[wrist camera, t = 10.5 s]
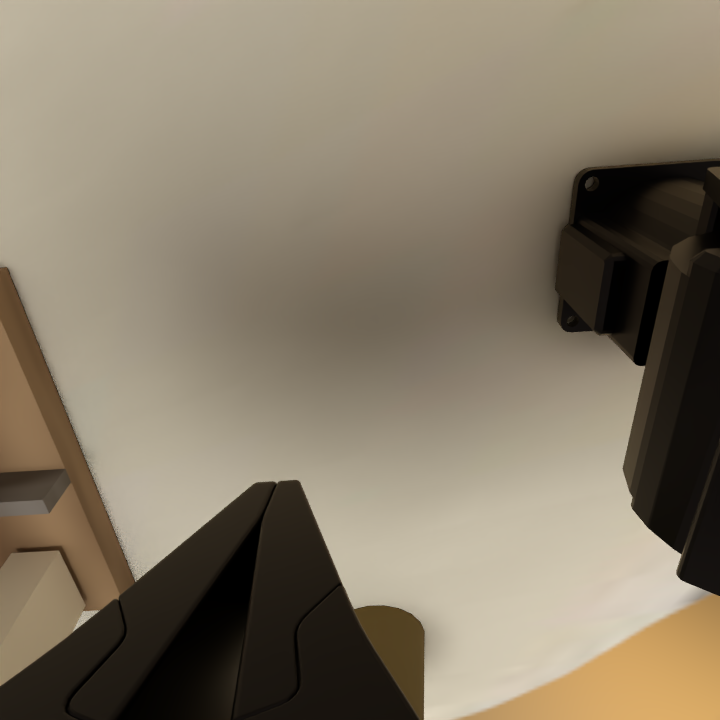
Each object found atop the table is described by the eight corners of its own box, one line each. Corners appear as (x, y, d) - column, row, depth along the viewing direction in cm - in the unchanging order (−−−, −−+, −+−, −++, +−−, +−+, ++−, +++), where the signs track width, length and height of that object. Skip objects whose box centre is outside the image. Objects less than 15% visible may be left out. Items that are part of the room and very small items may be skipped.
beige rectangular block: (60, 548, 26) (-60, 743, 18) (88, 606, 28) (-9, 801, 21) (8, 551, 26) (-132, 746, 19) (40, 609, 28) (-74, 805, 21)
